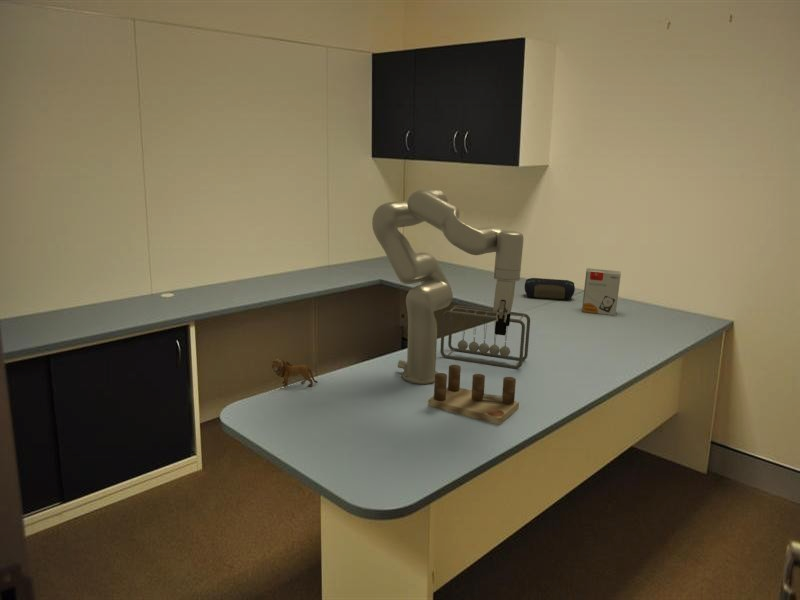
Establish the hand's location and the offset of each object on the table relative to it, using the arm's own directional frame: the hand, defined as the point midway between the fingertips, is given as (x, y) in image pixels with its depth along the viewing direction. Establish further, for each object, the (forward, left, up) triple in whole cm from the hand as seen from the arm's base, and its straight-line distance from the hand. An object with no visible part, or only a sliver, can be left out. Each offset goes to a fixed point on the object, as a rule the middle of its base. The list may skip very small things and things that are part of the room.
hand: (502, 329), depth 192 cm
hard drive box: (-4, +128, -23) cm, 130 cm away
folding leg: (+1, -6, -20) cm, 21 cm away
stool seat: (-4, -9, -23) cm, 25 cm away
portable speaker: (-33, +141, -23) cm, 146 cm away
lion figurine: (-59, -27, -23) cm, 68 cm away
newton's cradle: (-20, +33, -23) cm, 45 cm away
